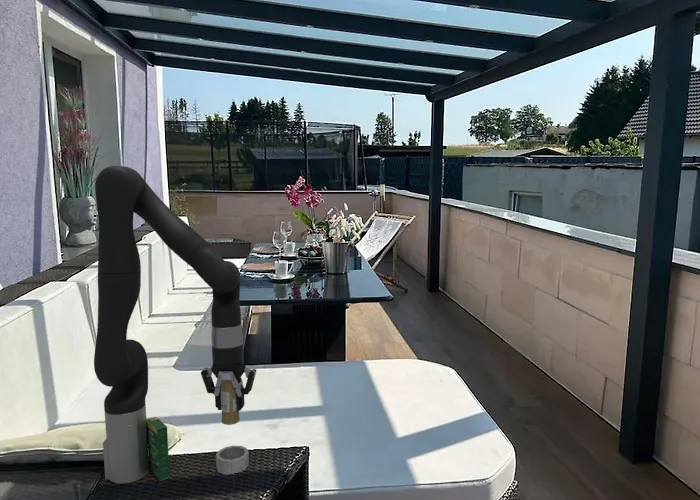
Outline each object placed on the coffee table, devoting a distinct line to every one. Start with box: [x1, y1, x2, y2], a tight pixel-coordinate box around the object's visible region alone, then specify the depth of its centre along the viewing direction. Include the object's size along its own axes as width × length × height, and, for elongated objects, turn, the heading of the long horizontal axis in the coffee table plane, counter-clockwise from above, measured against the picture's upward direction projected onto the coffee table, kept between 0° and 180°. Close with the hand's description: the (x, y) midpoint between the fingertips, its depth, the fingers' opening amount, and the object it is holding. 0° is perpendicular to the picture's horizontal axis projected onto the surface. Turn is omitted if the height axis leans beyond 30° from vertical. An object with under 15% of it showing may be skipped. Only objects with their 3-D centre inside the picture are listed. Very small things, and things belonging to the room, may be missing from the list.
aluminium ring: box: [215, 445, 250, 476], centre depth 130 cm, size 8×8×4 cm
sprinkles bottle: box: [220, 371, 241, 426], centre depth 128 cm, size 5×5×13 cm
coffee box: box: [146, 416, 171, 482], centre depth 127 cm, size 8×3×13 cm, turn 38°
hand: (230, 408), depth 128 cm, fingers closed on sprinkles bottle, 4 cm apart
